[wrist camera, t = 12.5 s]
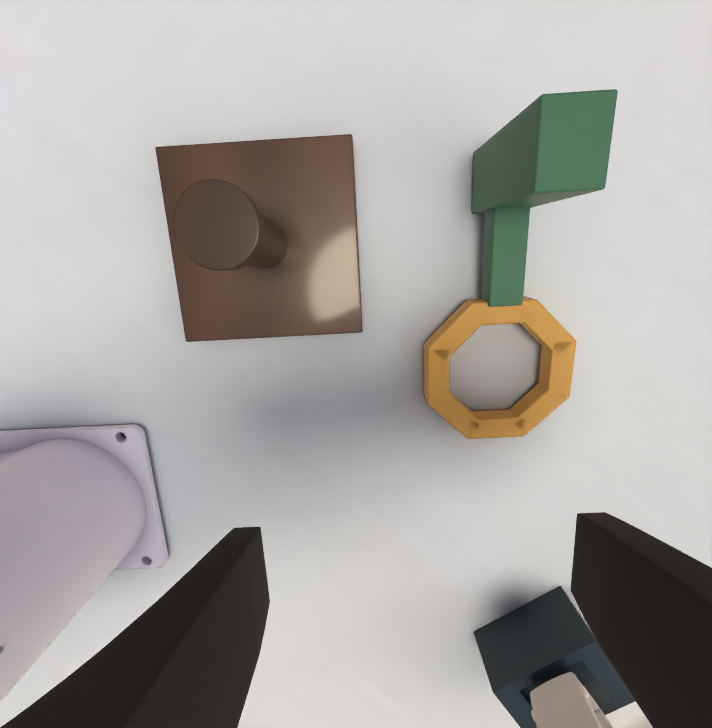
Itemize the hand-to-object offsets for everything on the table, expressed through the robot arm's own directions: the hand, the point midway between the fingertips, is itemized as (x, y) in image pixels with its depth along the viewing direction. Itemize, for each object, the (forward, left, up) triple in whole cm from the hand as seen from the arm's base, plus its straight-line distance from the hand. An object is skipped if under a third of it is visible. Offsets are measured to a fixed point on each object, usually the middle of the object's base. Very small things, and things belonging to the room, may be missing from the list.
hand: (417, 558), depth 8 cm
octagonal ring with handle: (+5, +5, -10) cm, 12 cm away
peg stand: (-5, +8, -10) cm, 14 cm away
